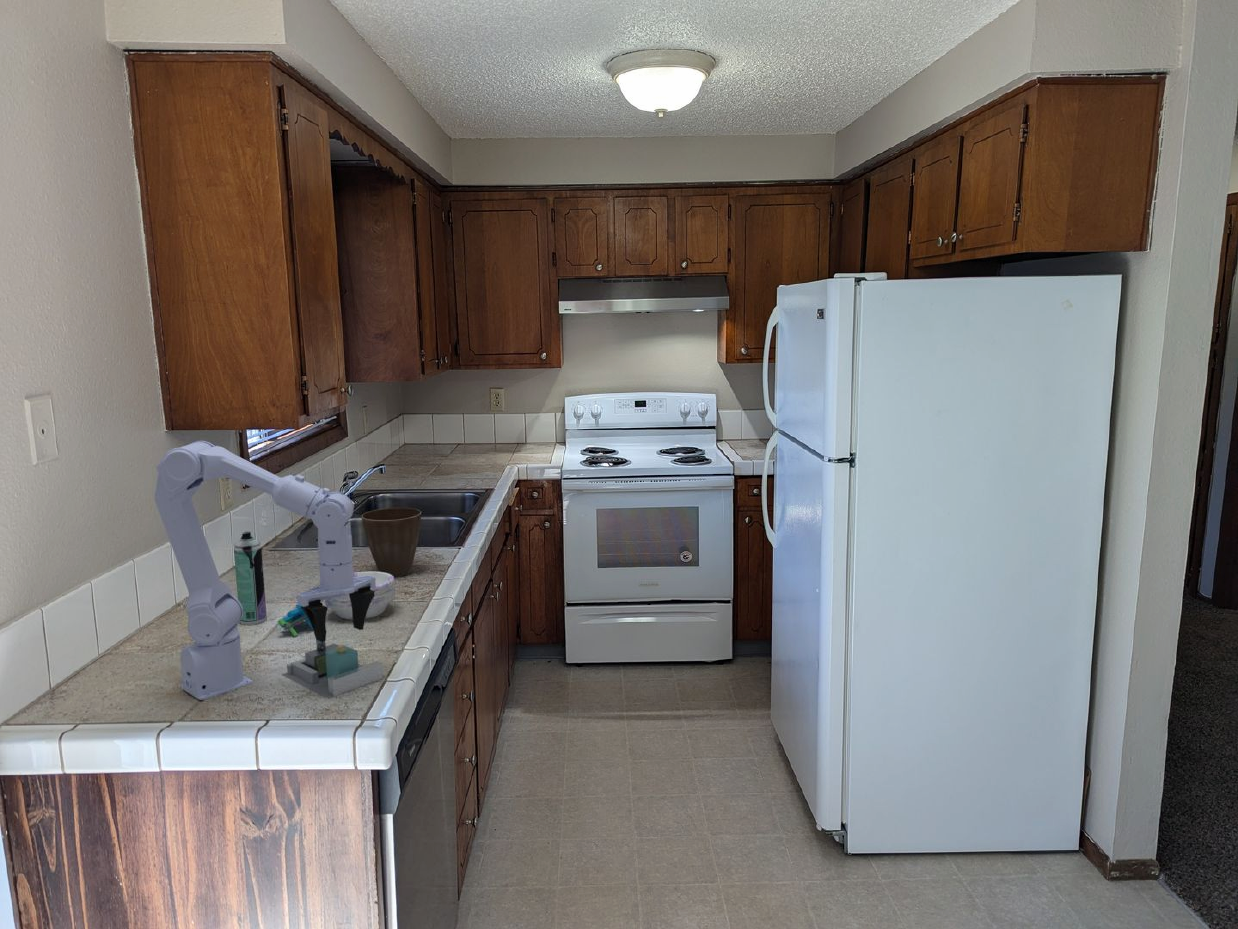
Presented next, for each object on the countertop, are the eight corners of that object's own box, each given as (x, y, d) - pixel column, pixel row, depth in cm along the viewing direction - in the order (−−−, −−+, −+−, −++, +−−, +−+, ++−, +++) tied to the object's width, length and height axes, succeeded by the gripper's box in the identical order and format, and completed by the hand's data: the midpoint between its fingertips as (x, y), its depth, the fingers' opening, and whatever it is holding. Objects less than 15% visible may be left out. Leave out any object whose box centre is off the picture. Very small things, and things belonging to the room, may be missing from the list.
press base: (328, 700, 146) (327, 682, 146) (281, 676, 156) (280, 659, 156) (387, 678, 155) (386, 661, 155) (339, 656, 165) (338, 640, 165)
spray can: (271, 620, 185) (264, 532, 182) (246, 627, 181) (239, 536, 178) (260, 614, 189) (253, 528, 186) (235, 621, 185) (228, 532, 182)
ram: (316, 678, 154) (313, 635, 153) (304, 672, 157) (301, 630, 155) (345, 668, 159) (342, 626, 157) (333, 662, 161) (331, 621, 160)
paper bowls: (347, 600, 199) (345, 568, 197) (407, 604, 196) (406, 571, 194) (311, 622, 184) (309, 587, 183) (376, 627, 181) (374, 592, 180)
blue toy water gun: (308, 610, 187) (325, 585, 182) (324, 630, 186) (342, 606, 181) (267, 632, 178) (283, 607, 172) (284, 654, 177) (301, 629, 172)
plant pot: (363, 584, 211) (359, 521, 208) (366, 567, 225) (363, 509, 223) (424, 579, 214) (421, 518, 212) (423, 563, 229) (421, 506, 226)
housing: (339, 686, 151) (337, 653, 150) (327, 680, 153) (325, 647, 152) (359, 679, 154) (357, 646, 153) (346, 673, 156) (344, 641, 155)
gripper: (310, 575, 142) (315, 651, 144) (384, 557, 153) (387, 628, 155) (288, 567, 146) (293, 641, 149) (361, 550, 157) (365, 619, 160)
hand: (340, 634), depth 152 cm, fingers open, 7 cm apart
